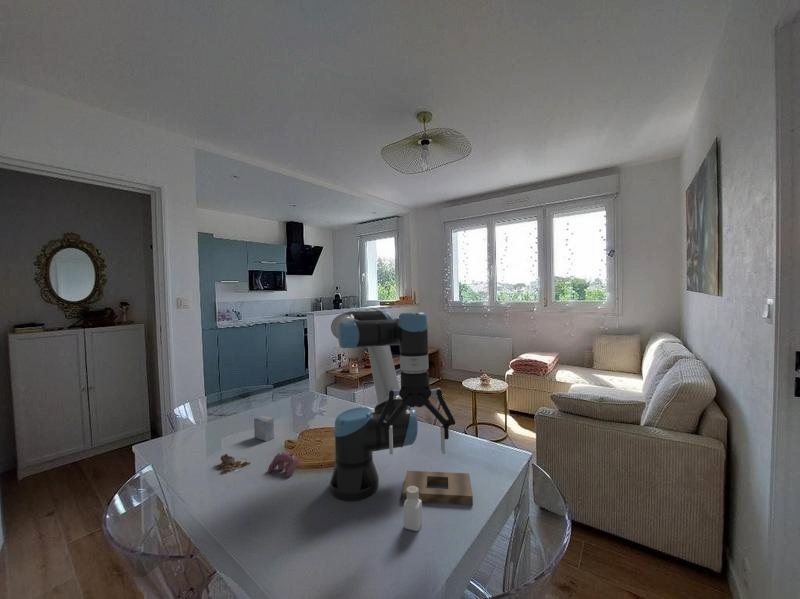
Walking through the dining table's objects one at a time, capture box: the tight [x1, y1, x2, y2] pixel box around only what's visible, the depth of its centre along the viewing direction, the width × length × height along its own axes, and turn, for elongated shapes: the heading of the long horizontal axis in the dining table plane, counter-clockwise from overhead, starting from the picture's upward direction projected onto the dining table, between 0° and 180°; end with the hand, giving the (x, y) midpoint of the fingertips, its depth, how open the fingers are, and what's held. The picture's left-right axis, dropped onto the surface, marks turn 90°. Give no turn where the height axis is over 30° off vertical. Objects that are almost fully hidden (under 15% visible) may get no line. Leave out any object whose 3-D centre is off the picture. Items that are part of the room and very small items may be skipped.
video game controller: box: [267, 452, 299, 478], centre depth 113 cm, size 10×5×7 cm, turn 65°
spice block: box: [402, 470, 474, 506], centre depth 99 cm, size 20×12×2 cm, turn 83°
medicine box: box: [253, 414, 275, 442], centre depth 141 cm, size 8×4×9 cm, turn 58°
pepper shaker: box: [403, 486, 423, 532], centre depth 84 cm, size 4×4×10 cm
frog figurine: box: [216, 453, 252, 474], centre depth 117 cm, size 12×12×4 cm
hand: (417, 451), depth 86 cm, fingers open, 13 cm apart
